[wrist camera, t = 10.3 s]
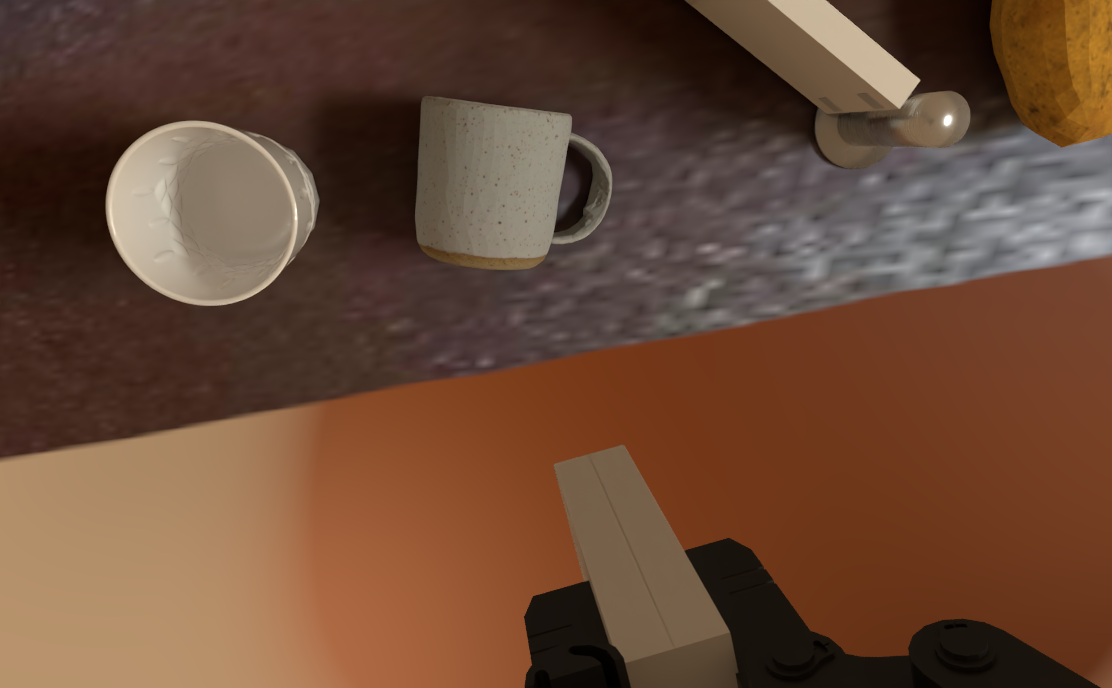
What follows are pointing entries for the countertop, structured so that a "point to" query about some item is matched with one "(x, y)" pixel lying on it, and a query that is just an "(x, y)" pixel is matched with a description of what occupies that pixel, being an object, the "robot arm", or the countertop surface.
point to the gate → (815, 52)
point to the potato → (1057, 65)
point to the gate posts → (891, 128)
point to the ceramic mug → (498, 183)
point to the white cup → (209, 210)
